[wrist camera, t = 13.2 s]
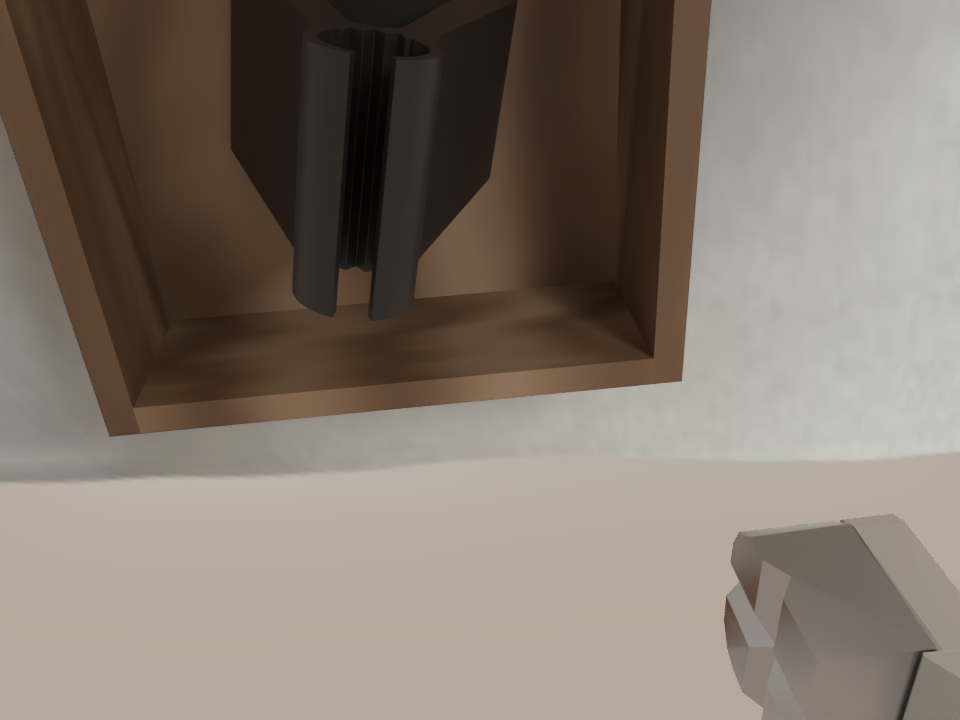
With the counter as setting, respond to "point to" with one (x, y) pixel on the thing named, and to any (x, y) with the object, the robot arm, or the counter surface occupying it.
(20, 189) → the counter surface
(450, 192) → the phone stand
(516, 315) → the walnut box
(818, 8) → the counter surface
